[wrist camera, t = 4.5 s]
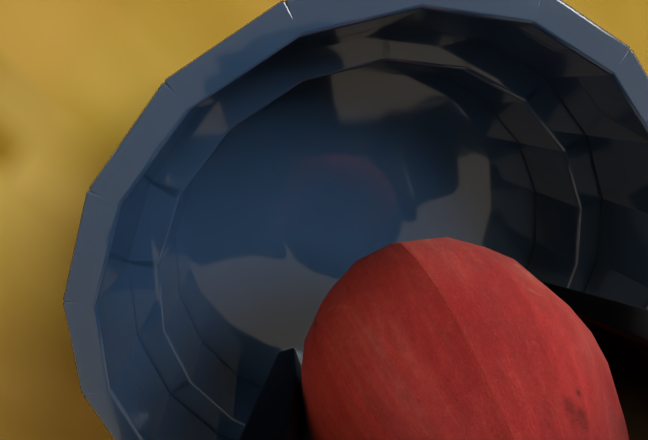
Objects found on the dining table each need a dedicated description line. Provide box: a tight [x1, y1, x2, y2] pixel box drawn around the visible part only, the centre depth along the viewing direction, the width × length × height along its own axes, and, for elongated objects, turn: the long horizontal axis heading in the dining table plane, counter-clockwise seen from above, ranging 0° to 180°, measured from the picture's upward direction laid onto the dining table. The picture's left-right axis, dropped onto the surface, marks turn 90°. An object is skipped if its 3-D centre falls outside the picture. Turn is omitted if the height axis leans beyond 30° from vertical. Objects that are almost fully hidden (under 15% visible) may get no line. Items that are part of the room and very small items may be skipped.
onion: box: [301, 237, 629, 440], centre depth 7 cm, size 6×6×8 cm
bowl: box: [63, 0, 648, 440], centre depth 10 cm, size 15×15×4 cm
